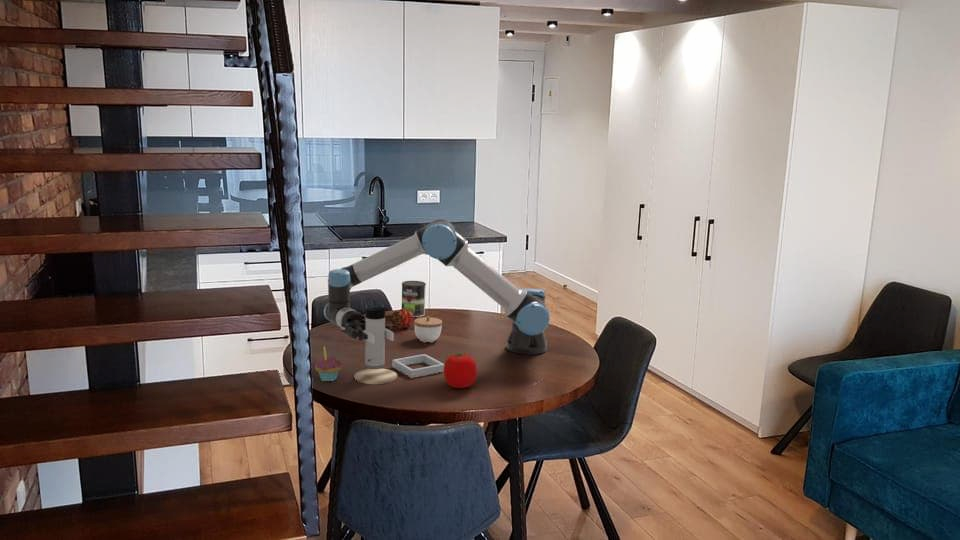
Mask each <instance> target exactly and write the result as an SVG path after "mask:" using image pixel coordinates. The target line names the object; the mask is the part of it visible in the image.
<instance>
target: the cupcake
mask: <svg viewBox="0 0 960 540" xmlns="http://www.w3.org/2000/svg"><path fill="white" fill-rule="evenodd" d="M326 349H327V348H326V347H325V345H324V344H323V355H324V356H323V357H322V358H321V359H319V360H317V361H316V362H315V364H314V365H315V367H314V368H315V369H314V371H316V372H318V374H319V377H320V380H321V381H322V382H324V381H332V382H335V381H336V380H337V377H338V374H339V372H340V371H341V370H342V369H343V365H342V362H341V360H339V359H337V358H336V357H333V356H331V357H327V350H326ZM334 380H335V381H334Z"/></svg>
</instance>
